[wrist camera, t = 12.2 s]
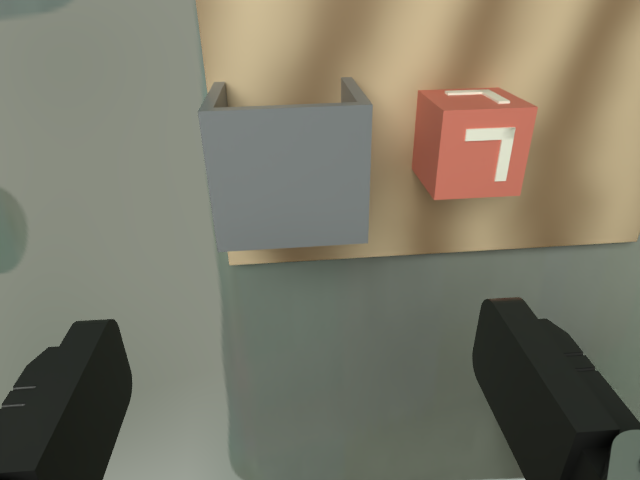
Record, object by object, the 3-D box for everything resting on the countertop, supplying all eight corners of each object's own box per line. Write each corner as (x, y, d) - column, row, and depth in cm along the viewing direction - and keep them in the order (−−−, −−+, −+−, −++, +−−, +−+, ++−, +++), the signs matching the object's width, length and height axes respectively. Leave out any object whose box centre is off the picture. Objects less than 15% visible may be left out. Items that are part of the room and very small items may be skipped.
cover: (351, 76, 23) (372, 104, 18) (350, 192, 25) (368, 243, 21) (214, 81, 22) (197, 111, 17) (228, 198, 25) (217, 252, 20)
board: (712, -28, 23) (729, -28, 22) (625, 233, 29) (636, 241, 29) (196, -18, 21) (193, -18, 20) (230, 256, 28) (229, 265, 27)
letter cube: (498, 85, 23) (539, 105, 20) (486, 165, 25) (521, 196, 22) (418, 88, 23) (444, 108, 20) (411, 168, 25) (434, 200, 22)
